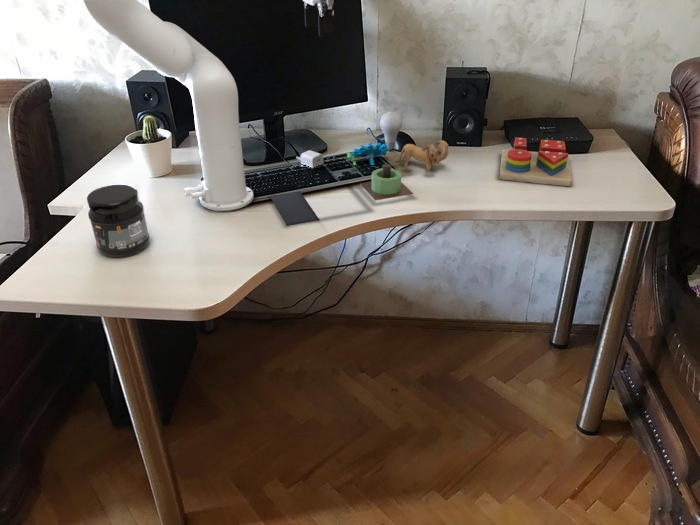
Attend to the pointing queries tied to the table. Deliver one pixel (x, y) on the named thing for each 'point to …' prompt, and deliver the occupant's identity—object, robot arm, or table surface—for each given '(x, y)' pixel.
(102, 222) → the supplement container
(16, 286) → the table surface
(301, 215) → the mat
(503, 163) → the shape sorter
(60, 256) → the table surface
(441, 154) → the lion figurine
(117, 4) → the robot arm
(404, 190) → the stand
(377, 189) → the ring
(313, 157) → the usb wall charger
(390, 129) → the lightbulb
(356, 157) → the dinosaur figurine
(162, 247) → the table surface
